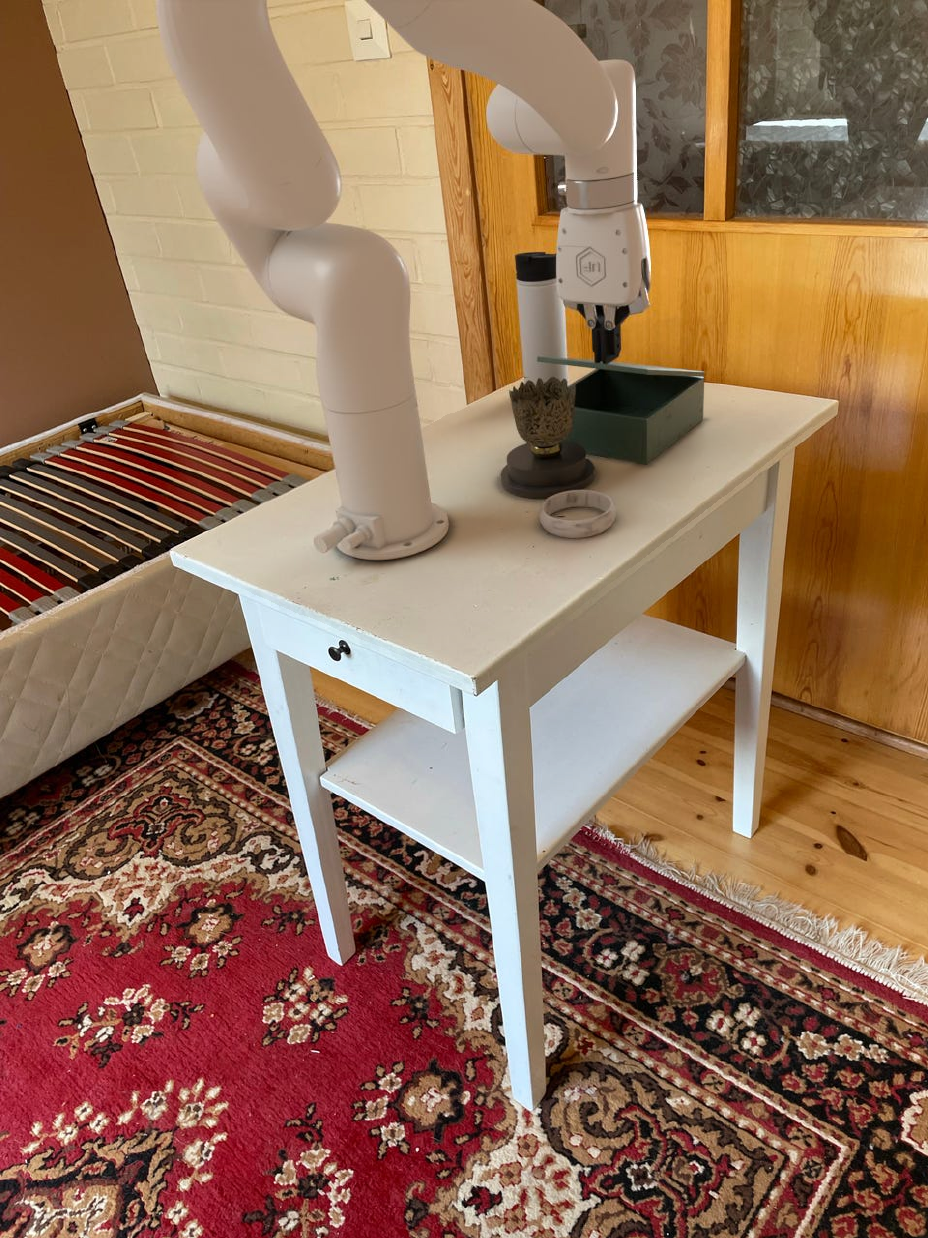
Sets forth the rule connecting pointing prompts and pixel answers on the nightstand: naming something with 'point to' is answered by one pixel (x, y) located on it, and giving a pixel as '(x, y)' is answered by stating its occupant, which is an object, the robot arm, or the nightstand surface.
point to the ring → (578, 526)
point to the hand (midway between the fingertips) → (607, 359)
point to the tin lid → (621, 367)
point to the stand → (546, 471)
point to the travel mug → (540, 316)
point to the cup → (544, 414)
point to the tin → (634, 413)
